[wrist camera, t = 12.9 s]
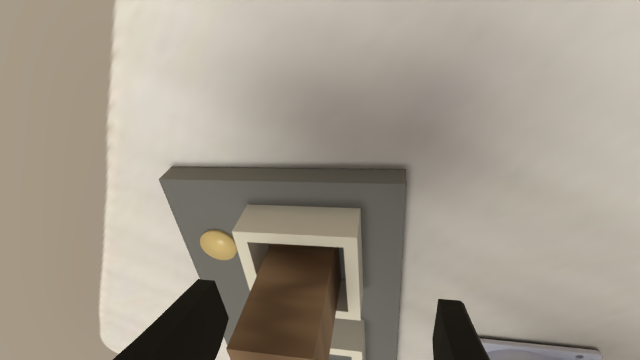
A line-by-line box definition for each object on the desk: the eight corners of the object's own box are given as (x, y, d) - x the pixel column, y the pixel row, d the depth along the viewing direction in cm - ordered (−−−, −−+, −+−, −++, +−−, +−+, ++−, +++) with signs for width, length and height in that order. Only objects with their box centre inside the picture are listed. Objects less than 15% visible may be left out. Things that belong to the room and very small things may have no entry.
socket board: (405, 169, 19) (408, 213, 16) (395, 367, 31) (395, 416, 27) (171, 166, 22) (133, 203, 19) (240, 348, 34) (224, 390, 30)
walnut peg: (337, 233, 21) (312, 359, 14) (341, 277, 23) (321, 404, 17) (276, 230, 22) (226, 349, 15) (285, 273, 24) (245, 393, 17)
